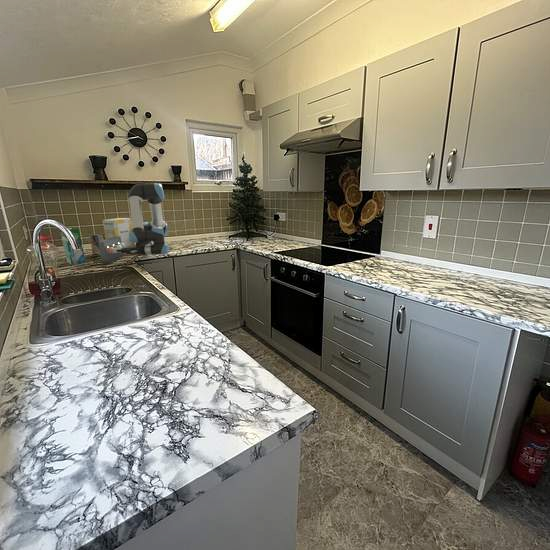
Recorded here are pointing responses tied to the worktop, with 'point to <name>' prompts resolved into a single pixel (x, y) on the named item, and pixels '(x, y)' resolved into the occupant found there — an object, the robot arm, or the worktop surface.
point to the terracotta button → (110, 250)
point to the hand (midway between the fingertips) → (113, 250)
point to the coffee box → (96, 243)
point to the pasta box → (119, 230)
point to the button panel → (103, 249)
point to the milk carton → (70, 253)
